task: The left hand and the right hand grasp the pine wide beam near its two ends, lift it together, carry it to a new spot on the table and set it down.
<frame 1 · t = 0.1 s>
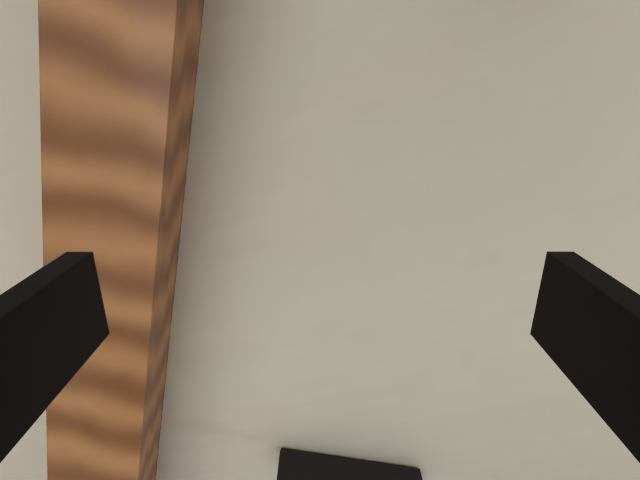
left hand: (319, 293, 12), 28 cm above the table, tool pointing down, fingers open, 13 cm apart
wide beam: (130, 249, 42), on the table
midi keyboard: (349, 460, 52), on the table
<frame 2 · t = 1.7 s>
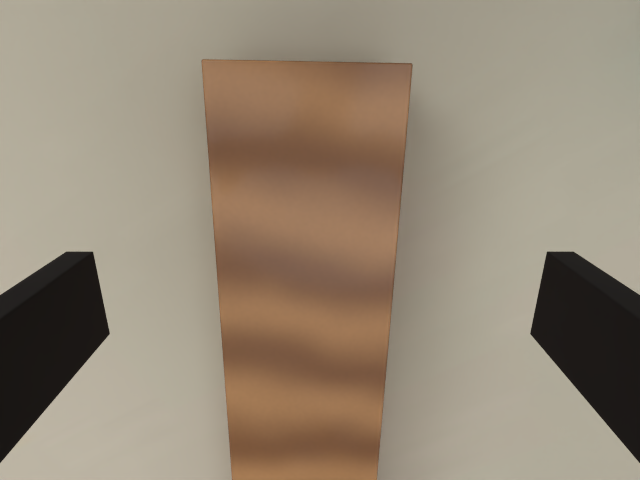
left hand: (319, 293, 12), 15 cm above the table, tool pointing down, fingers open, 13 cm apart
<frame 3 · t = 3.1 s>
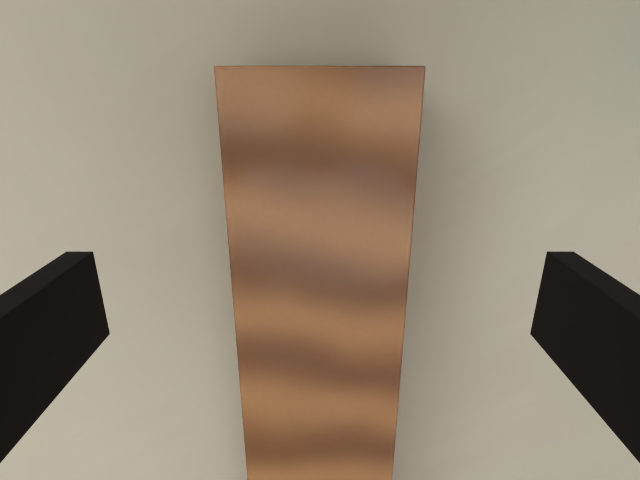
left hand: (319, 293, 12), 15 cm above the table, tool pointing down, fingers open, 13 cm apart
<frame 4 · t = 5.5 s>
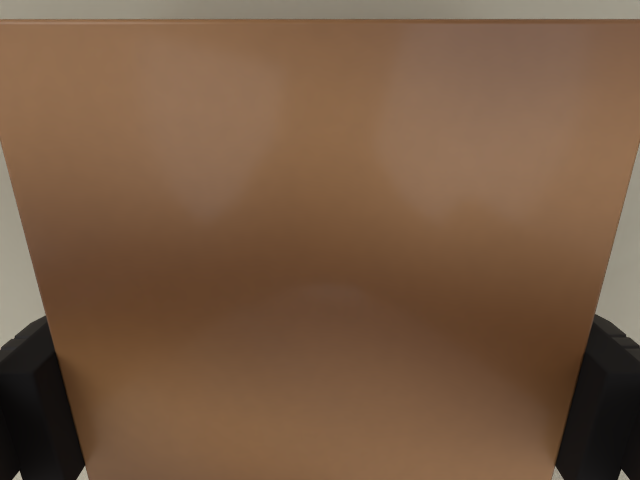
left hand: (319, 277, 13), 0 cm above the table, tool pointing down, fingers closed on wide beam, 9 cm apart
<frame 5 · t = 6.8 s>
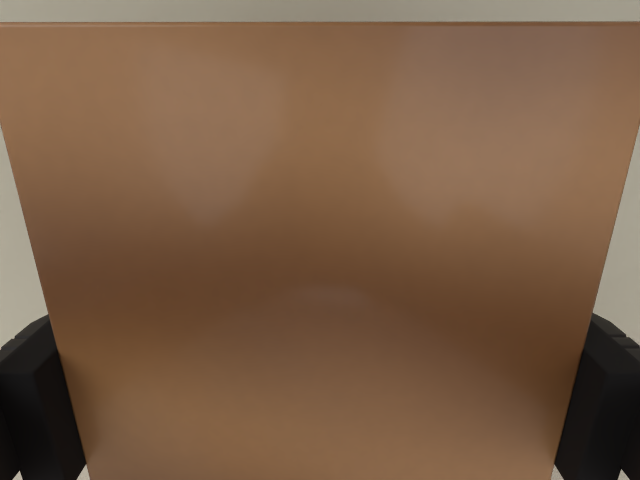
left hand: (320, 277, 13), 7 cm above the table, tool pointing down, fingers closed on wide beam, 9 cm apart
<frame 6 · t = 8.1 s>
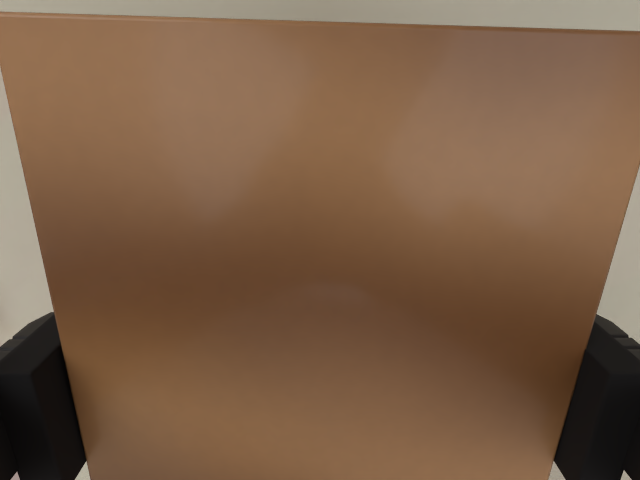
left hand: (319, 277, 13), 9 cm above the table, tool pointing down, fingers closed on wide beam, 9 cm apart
when the left hand's fingers open (2 cm above the table, at t = 10.7 s): wide beam stays where it is, on the table.
when the right hand's fingers open (1 cm above the table, at t = 10.7 s): wide beam stays where it is, on the table.
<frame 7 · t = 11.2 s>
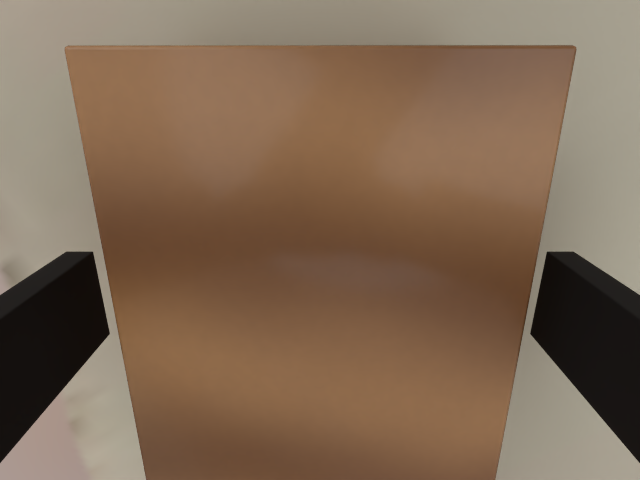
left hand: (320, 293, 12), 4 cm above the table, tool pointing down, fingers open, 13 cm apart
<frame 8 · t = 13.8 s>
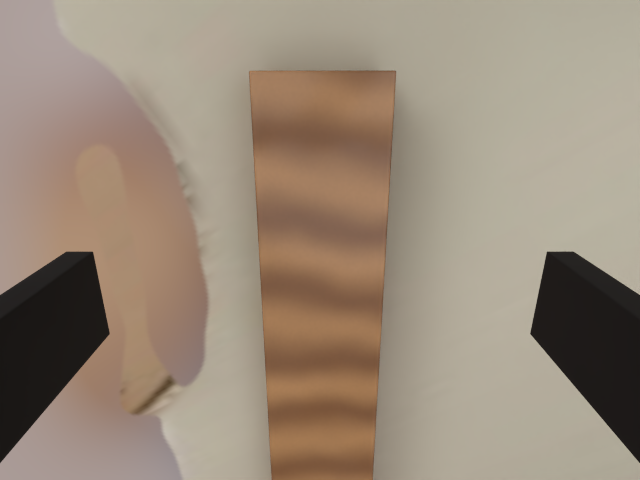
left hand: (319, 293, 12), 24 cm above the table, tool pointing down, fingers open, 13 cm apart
wide beam: (321, 413, 44), on the table
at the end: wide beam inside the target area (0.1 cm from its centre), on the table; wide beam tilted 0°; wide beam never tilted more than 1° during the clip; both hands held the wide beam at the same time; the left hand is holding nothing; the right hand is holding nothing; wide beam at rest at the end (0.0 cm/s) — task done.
